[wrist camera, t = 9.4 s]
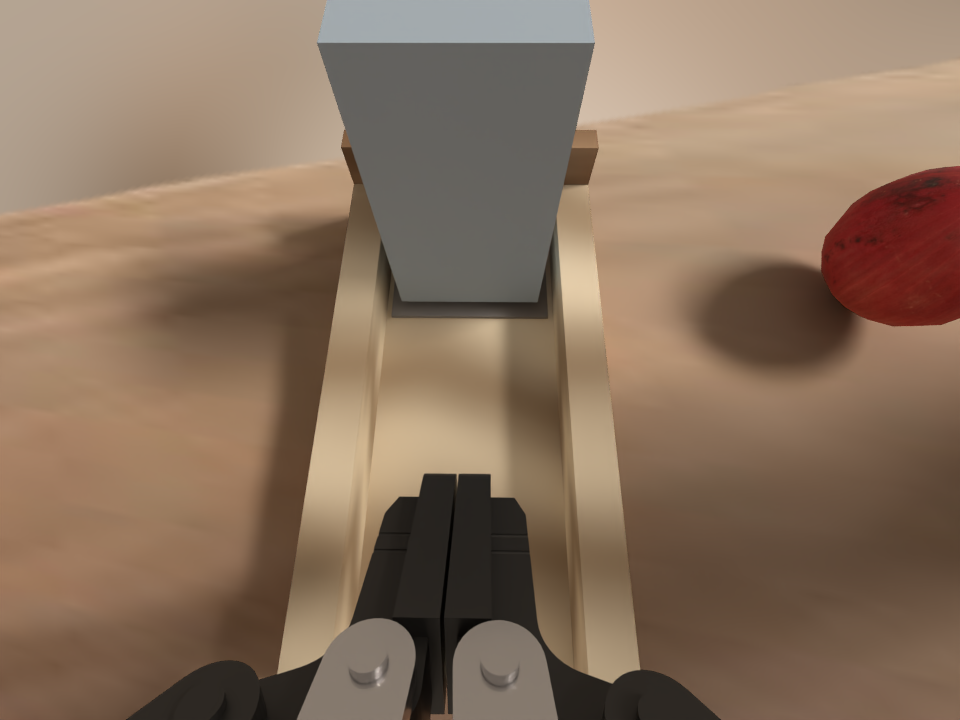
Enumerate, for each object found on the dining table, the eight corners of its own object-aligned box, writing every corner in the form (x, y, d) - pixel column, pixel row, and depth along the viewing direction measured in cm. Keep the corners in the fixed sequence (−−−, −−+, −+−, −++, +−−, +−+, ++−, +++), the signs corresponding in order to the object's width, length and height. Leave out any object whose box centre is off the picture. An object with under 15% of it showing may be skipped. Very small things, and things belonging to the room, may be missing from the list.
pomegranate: (758, 302, 21) (907, 169, 14) (816, 229, 23) (977, 76, 15) (878, 381, 20) (1119, 279, 12) (931, 297, 21) (1171, 162, 14)
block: (537, 302, 20) (594, 42, 10) (401, 301, 20) (316, 42, 10) (533, 212, 22) (577, -82, 12) (409, 211, 22) (346, -82, 12)
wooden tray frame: (614, 674, 15) (670, 728, 11) (310, 670, 16) (238, 721, 11) (573, 213, 23) (596, 130, 19) (371, 212, 23) (344, 129, 19)
